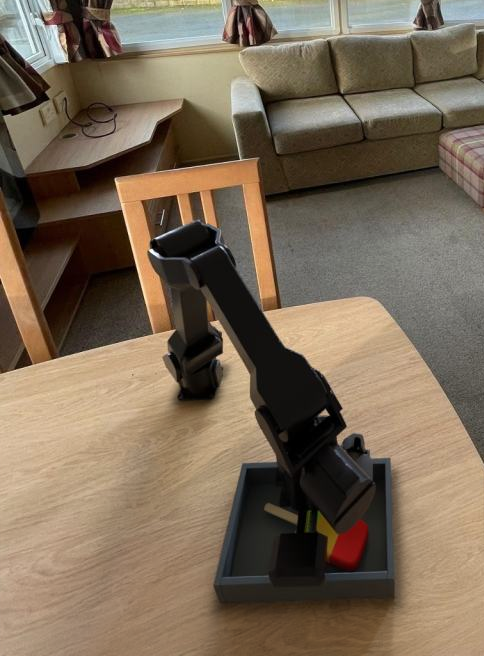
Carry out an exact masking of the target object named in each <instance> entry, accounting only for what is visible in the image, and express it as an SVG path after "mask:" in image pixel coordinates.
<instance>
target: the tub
mask: <svg viewBox="0 0 484 656" xmlns="http://www.w3.org/2000/svg"><path fill="white" fill-rule="evenodd" d="M371 459H372V461H373V482H374V483H375V486H376V488H375V493H374V497H373V499H372V501H371V503H370V505H369V507H368V509H367V510H366V512H365V513H364V515H363V516H362V517H361V520H362V521H364V522H365V523H366V524H367V526H368V531H369V536H368V540H367V543H366V546H365V549H364V552H363V555H362V558H361V561H360V563H359V566H358V567H357V568H356V570H354V571H351V572H349V571H345V570H343V569H341V568H338V567H336V566H334V565H332V564H330V563H327V562H326V576H325V580H324V582H323V583H322V584H321V585H320V586H307V587H279V588H274V587H273V585H272V584H271V582H270V579H269V575H268V571H269V565H270V558H271V552H272V546H273V540H274V537H276V536H278V535H279V534H281V533H295V531H296V529H297V525H295V524H293V523H291V522H289V521H286V520H284V519H282V518H279V517H277V516H275V515H273V514H270V513H268V512H266V511H265V510H264V507H265V505H266V504H267V503H270V504H272V505H275V506H277V507H279V508H282V509H284V510H286V511H289V512H291V513H293V514H296V515H298V513H299V511H295V510H293V509H292V508H291V507H280V505H279V499H280V493H281V487H276V486H275V478H276V473H277V467H278V465H277V461H264V462H262V461H261V462H258V461H257V462H242V463H241V467H240V471H239V476H238V480H237V485H236V488H235V491H234V492H235V493H234V496H233V501H232V505H231V510H230V513H229V517H228V522H227V527H226V531H225V534H224V538H223V543H222V547H221V552H220V556H219V560H218V564H217V568H216V572H215V577H214V581H213V589H214V592H215V594H216V597H217V600H218V603H219V605H237V604H238V605H239V604H259V603H260V604H262V603H290V602H292V603H293V602H313V601H315V602H316V601H343V600H344V601H345V600H367V599H369V600H370V599H394V598H396V589H395V588H396V587H395V585H396V582H395V557H394V554H395V553H394V551H395V550H394V520H393V519H394V518H393V493H392V492H393V491H392V490H393V489H392V460H391V457H371Z"/></svg>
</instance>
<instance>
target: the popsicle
mask: <svg viewBox="0 0 484 656" xmlns="http://www.w3.org/2000/svg"><path fill="white" fill-rule="evenodd" d="M264 510H265V511H266V512H268V513H270V514H273V515H275V516H277V517H279V518H282V519H284V520H286V521H289V522H291V523H293V524H295V525H297V521H298V515H296V514H293V513H291V512H289V511H286V510H284V509H282V508H279V507H277V506H275V505H272V504H270V503H267V504H266V505H265V507H264ZM310 512H311V511H309V513H308V522H307V531H306V532H308V530H309V529H308V527H309V523H310V522H309V519H311V518H309V516H310ZM317 531H319V532H320V533H321V534H323V535H325V536H328V544H327V563H330V564H332V565H334V566H336V567H338V568H341V569H343V570H345V571H349V572H351V571H354V570H356V568H357V567H358V566H359V563H360V561H361V558H362V555H363V552H364V549H365V546H366V543H367V540H368V536H369V531H368V526H367V524H366V523H365V522H364V521H362V520H361V519H360V520H359V521H358V522H357V523H356V524H355V525H354V526H353V527H352V528H351V529H350V530H348V531H347V532H345V533H343V534H337V533H336V532H335V531H334V530H333V528H332V527H331V526H330V524H329V523H328V522H327V521H326V519H325V518H324V517H323V516H322V514H321V513H320V512H319V510H318V520H317ZM295 533H296V531H295Z"/></svg>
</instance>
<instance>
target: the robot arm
mask: <svg viewBox="0 0 484 656" xmlns="http://www.w3.org/2000/svg"><path fill="white" fill-rule="evenodd" d="M148 246H149V249H148V250H146V254H147V258H148V261H149V263H150V266H151V267H152V269H153V271H154V272H155V273H156V275H158V276H159V277H160V278H161V279H162V280H163V281H165V283H166V285H167V286H168V287H170V294H171V301H172V307H173V313H174V315H173V316H174V320H175V327H176V329H175V330H174V332H173V333H172V334H171V335H170V336H169V338H168V339H167V342H166V343H167V353H166V354H164V355H162V356H161V358H162V361H163V363H164V366H165V368H166V370H167V371H168V372H169V373H170V375H171V376H172V378H173V379H174V380H175V382H176V383H177V384H178V386H179V391H178V394H177V396H176V399H177V401H179V402H181V401H182V402H185V401H209V400H214V399H215V397H216V394H217V393H218V388H220V386H221V383H222V380H223V377H224V371H225V369H224V366H222V365H221V361H220V359H219V358H218V359H217V357H219V356H221V355H222V354H223V353H224V338H223V332H222V331H221V330H218V329H217V327H216V326H214V325H212V323H211V322H210V321H209V311H208V310H209V309H208V305H209V306H210V309H211V310H212V311H213V313H214V315H215V317H216V318H217V320H218V322H219V323H220V325H221V327H222V328H223V331H224V332H225V334H226V336H227V338H228V339H229V341H230V343H231V344H232V345H233V348H234V349H235V351H236V353H237V354H238V356H239V357H240V360H241V361H242V363H243V365H244V366H245V368H246V370H247V372H248V375H249V399H250V401H251V403H252V405H253V407H254V408H255V410H254V417H255V420H256V422H257V424H258V427H259V429H260V430H261V432H262V433H263V436H264V437H265V439H266V440H267V442H268V444H269V446H270V448H271V449H272V451H273V453H274V454H275V459H276V460H275V461H276V462H277V465H278V467H277V473H276V478H275V486H276V487H281V493H280V499H279V505H280V507H291V508H292V509H293V510H295V511H299V513H298V521H297V529H296V533H281V534H279V535H278V536H276V537H274V540H273V546H272V552H271V558H270V565H269V571H268V575H269V579H270V582H271V584H272V585H273V587H274V588H279V587H307V586H320V585H321V584H322V583H323V582H324V580H325V576H326V562H327V544H328V536H325V535H323V534H321V533H320V532H319V531H317V520H318V510H319V512H320V513H321V514H322V516H323V517H324V518H325V519H326V521H327V522H328V523H329V524H330V526H331V527H332V528H333V530H334V531H335V532H336V533H337V534H343V533H345V532H347V531H348V530H350V529H351V528H352V527H353V526H354V525H355V524H356V523H357V522H358V521H359V520H360V519H361V517H362V516H363V515H364V513H365V512H366V510H367V509H368V507H369V505H370V503H371V501H372V499H373V497H374V493H375V488H376V486H375V483H374V482H373V461H372V459H371V458H372V457H371V449H366V446H365V445H366V443H365V438H364V434H362V433H357V432H352V433H351V434H349V435H348V436H346V437H345V438H343V440H342V442H341V444H339V443H338V442H339V441H338V436H339V435H340V434H341V433H342V432H344V431H345V429H347V428H348V425H347V423H346V421H345V419H344V417H343V415H342V413H341V412H342V410H343V409H344V408H343V406H342V405H341V403H340V401H339V399H338V398H337V396H336V394H335V392H334V390H333V389H332V387H331V385H330V383H329V381H328V380H327V378H326V376H325V375H324V374H323V373H321V371H320V370H318V369H316V368H315V367H313V366H312V365H311V364H310V363H309V361H308V360H307V358H306V357H305V356H304V355H303V354H302V353H300V352H297V351H296V350H293V349H290V348H288V347H287V346H285V345H284V343H283V342H282V340H281V339H280V338H279V336H278V334H277V332H276V330H275V329H274V327H273V326H272V324H271V323H270V321H269V320H268V318H267V317H266V315H265V313H264V312H263V310H262V308H261V307H260V305H259V304H258V302H257V301H256V299H255V297H254V295H253V294H252V292H251V291H250V289H249V288H248V286H247V284H246V282H245V281H244V279H243V278H242V276H241V275H240V273H239V271H238V269H237V262H236V260H235V257H234V255H233V253H232V251H231V249H230V248H229V247H227V245H226V243H225V240H224V237H223V233H222V230H221V229H220V228H218V227H216V226H214V225H213V224H210V223H205V224H203V223H202V221H200V219H195V220H192V221H190V222H188V223H185V224H183V225H181V226H179V227H177V228H174V229H172V230H170V231H168V232H166V233H163V234H161V235H159V236H156V237H154V238H153V239H151V240H150V241H149V245H148ZM324 411H326V412H327V414H322V413H323V412H324ZM309 511H311V512H310V516H309V518H311V519H309V522H310V523H309V527H308V529H309V530H308V532H306V531H307V522H308V513H309Z"/></svg>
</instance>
